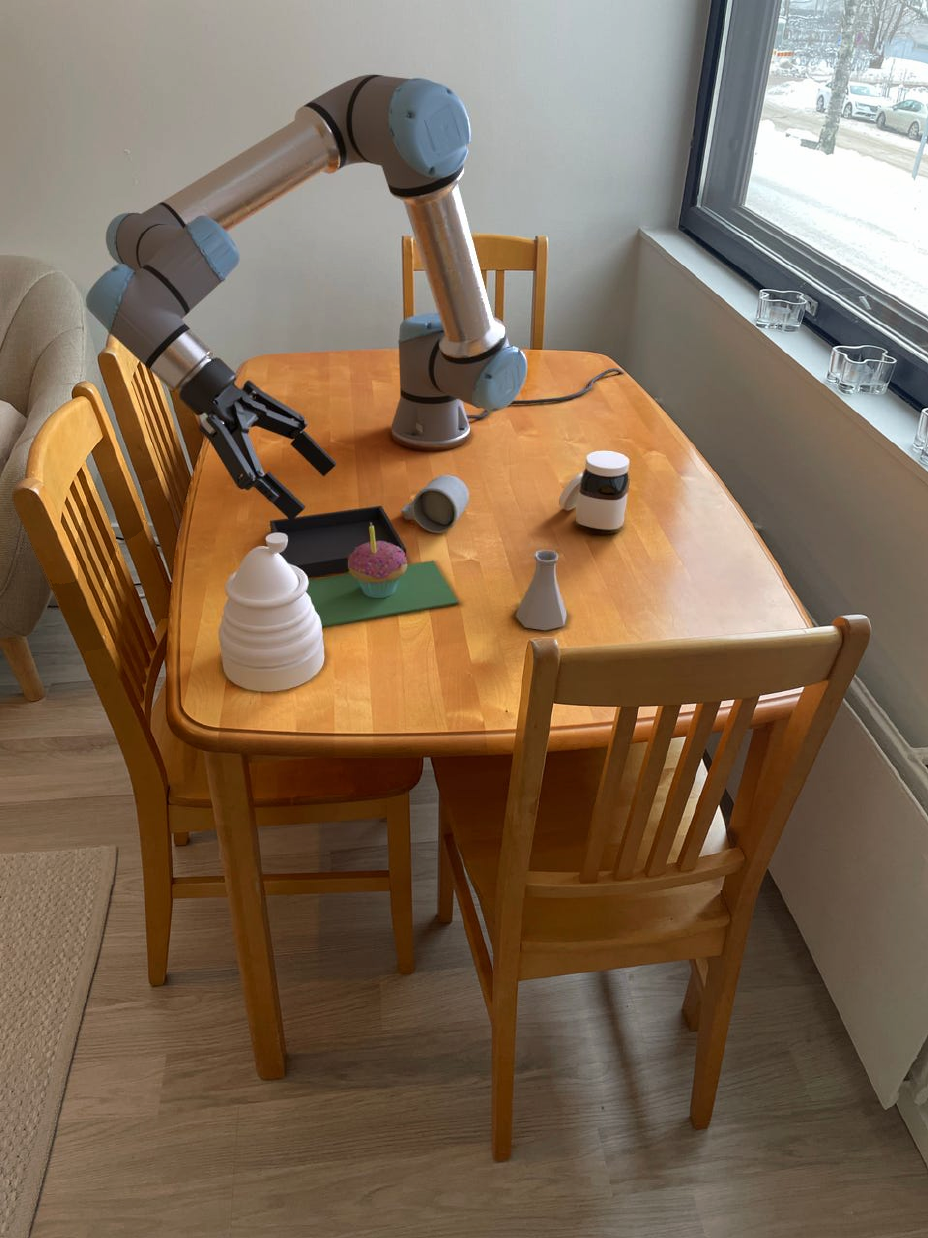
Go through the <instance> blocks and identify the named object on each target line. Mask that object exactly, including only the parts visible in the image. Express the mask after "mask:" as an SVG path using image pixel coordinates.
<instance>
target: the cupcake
mask: <svg viewBox="0 0 928 1238" xmlns="http://www.w3.org/2000/svg"><path fill="white" fill-rule="evenodd" d="M370 525H371V526H370V527H369V530H370V540H371V541H369V542H368V543H367V542H366V543H365V544H363V545H361V546H358V547H355V549H354V550H353V552H352V553H351V554H350V555H349V557H348V569H349V571H350V572H349V574H351V575H352V576H353V577H354V578H355V579H357V580H358V582H359V584H360V586H361V589H362V591H363V593H364V594H365V595H367V596H369V597H372V598H385V597H388V596H390V595H392V594H393V593H394V592H395V589H396V586H397V583H398V580H399V578H400V576H402V575H403V574H404V573H405V571H406V568H407V566H408V565H409V564H408V558H407V554H406V555H405V553H404V552H403V550H402V549H401V548H399V547H398V546H395V545H393V544H391V543H389V542H385V541H380V540H378V541H375V532H374V526H372V523H371V522H370Z"/></svg>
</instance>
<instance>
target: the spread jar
mask: <svg viewBox="0 0 928 1238" xmlns="http://www.w3.org/2000/svg"><path fill="white" fill-rule="evenodd" d="M584 463H585V464H584V467H585V468H583V470H582V472H581V473H579V474H577V475H575V476H574V477H573V478H572V479H571V480H570V481H569V482H568V484H566V486H565V487H564V489H563V490H562V491H561V493H560V496H559V498H558V505H559V506H560V507H561V508H562V509H564V510H565V511H571V510H572V509H575V508H576V514H575V515H576V516H575V517H576V518H575V521H576V525H577V526H578V527H579V528H581V530H583V531H585V532H587V533H590V534H593V535H601V536H604V535H606V536H607V535H612V534H616V533H618V532H619V531H620V530H621V529H622V528H623V525H624V523H625V518H626V513H627V506H628V505H627V504H628V497H629V490H630V480H631V476H630V473H629V467H630V459H629V457H627V456H626V455H624V454H623V453H621V452H617V451H612V450H597V451H596V450H595V451H592V452H590V453H588V454H587V455H586V457H585V462H584Z"/></svg>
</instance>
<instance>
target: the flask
mask: <svg viewBox="0 0 928 1238" xmlns="http://www.w3.org/2000/svg"><path fill="white" fill-rule="evenodd" d="M533 558H534V560H535V570H534V572H533V577H532V579H531V581H530V583H529V585H528V587H527V590H526V592H525V594H524V595H523V598H522V599H521V601H520V603H519V606H518V608H517V611H516V614H515V618H516V619H517V620H518V621H519V622H520V623H521V624H522V626H523V627H524V628H527V629H535V630H540V631H549V630H553V629H557V628H561V627H564V626H565V624H566V620H567V616H568V614H567V610H566V608H565V607H566V606H565V604H564V601H563V598H562V595H561V592H560V588H559V584H558V581H557V574H556V564H557V561H558V558H559V554H558V553H557V552H555V550H551V549H541V550H536V551H535V554H534V557H533Z"/></svg>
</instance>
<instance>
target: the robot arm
mask: <svg viewBox="0 0 928 1238" xmlns="http://www.w3.org/2000/svg"><path fill="white" fill-rule="evenodd" d="M293 119H294V120H293V121H291V122H290V123H288V124H286V125H285V126H283V127H281V128H280V129H278V130H277V131H275V132H274V133H271V134H270V135H268V136H267V137H265V138H263V139H262V140H260V141H258V142H257V143H255V144H254V145H253V146H250V147H249V148H247V149H245V150H244V151H242V152H241V153H239V154H237V155H236V156H235V157H233V158H231V159H230V160H227V161H226V162H223V164H221V165H219V166H218V167H216V168H215V169H213V170H211V171H210V172H208V173H207V174H205V175H203V176H201V177H200V178H199V179H197V180H195V181H193V182H191V183H190V184H188V185H187V186H185V187H184V188H182V189H180V190H179V191H177V192H176V193H174V194H172V195H171V196H169V197H167V198H166V199H164V200H163V201H161V202H159V203H156V204H155V205H153V206H152V207H150V208H148V209H147V210H145V211H143V212H142V213H139V212H134V211H133V212H123V213H120V214H118V215H117V216H115V217H114V218H113V219H112V220H111V221H110V222H109V224H108V226H107V229H106V231H105V232H106V233H105V244H106V248H107V250H108V254H109V255H110V256H111V258H112V259H113V260H114V262H115V263H116V264H115V265H114V266H112V267H111V268H110V269H109V270H107V271H105V272H104V273H103V274H102V275H100V277H99V278H98V279H97V280H96V281H95V282H94V283H93V284H92V286H91V287H90V289H89V290H88V292H87V295H86V297H85V306H86V308H87V310H88V311H89V312H90V313H91V315H93V316H94V317H95V319H96V320H97V321H98V322H99V323H100V324H101V325H102V326H103V327H104V328H105V330H107V333H108V334H110V335H111V336H113V337H114V338H115V339H116V340H117V342H119V343H120V344H121V345H122V346H123V347H124V348H125V349H127V350H128V351H129V352H130V354H132V355H133V356H134V357H135V358H136V359H137V360H138V361H139V362H141V363H142V364H143V366H145V368H147V369H148V370H149V371H151V373H152V374H154V376H156V378H157V379H158V380H159V381H160V382H162V384H164V385H165V387H167V388H168V389H169V391H171V392H172V393H174V392H178V393H179V394H178V400H180V401H181V402H182V403H183V404H184V405H185V406H186V407H187V408H188V409H189V410H190V411H191V412H192V413H193V414H194V415H195V416H202V415H204V414H205V415H206V416H207V417H205V419H204V420H202V421H201V423H200V424H199V425H198V430H199V431H200V432H201V434H203V435H204V437H205V438H206V439H207V440H208V441H209V442H210V443H211V446H212V447H213V449H214V450H215V452H216V454H217V456H218V457H219V459H220V461H221V462H222V464H223V466H224V467H225V469H226V471H227V472H228V474H229V476H230V477H231V479H232V480H233V482H234V484H235V485H236V487H237V488H238V489H239V490H245V491H249V490H251V489H252V488H255V490H256V491H258V492H259V493H260V494H261V495H262V496H263V497H264V498H265V499H266V500H267V502H269V503H271V504H273V506H274V507H275V508H277V509H278V510H279V511H280V512H281V513H282V514H283V515H284V516H285V517H286V518H289V519H290V520H291V521H292V520H293V519H294V518H295V517H298V516H299V515H300V514H301V513H302V512H303V511H304V510H306V506H305V504H304V503H303V502H301V501H300V500H299V499H298V498H297V497H296V495H294V494H293V493H292V492H291V491H290V490H289V489H288V488H287V487H286V486H285V485H284V484H283V483H282V482H281V481H280V480H279V479H278V478H277V477H276V476H274V475H273V474H272V473H271V471H269V470H268V471H267V472H266V473H265V472H264V469H263V467H262V464H261V462H260V460H259V457H258V455H257V452H256V450H255V448H254V445H253V443H252V440H251V437H250V434H249V433H250V428H255V427H257V428H261V429H264V430H266V431H268V432H271V433H274V434H276V435H279V436H282V437H284V438H286V439H289V440H292V441H291V442H290V443H289V444H290V446H291V447H293V449H295V450H296V451H297V453H299V454H300V455H301V456H302V457H303V459H305V460H306V462H308V463H309V465H311V466H312V467H313V468H314V469H315V470H316V471H317V472H318V473H319V474H320V476H322V477H325V476H326V475H327V474H328V473H329V472H331V471H332V470H333V469H334V468H335V467H336V466H337V465H338V463H337V461H335V460H334V459H333V458H332V457H331V456H330V455H329V454H328V453H327V452H326V451H325V450H324V449H323V448H322V447H321V446H320V445H319V444H318V443H317V441H315V440H314V438H312V437H311V436H310V435H309V434H308V433H307V432H306V431H305V429H306V428H307V427H308V422H307V421H306V418H305V417H304V416H303V415H302V414H301V413H299V412H297V411H296V410H294V409H292V408H291V407H289V406H288V405H286V404H285V403H282V402H281V401H279V400H278V399H276V398H274V397H273V396H272V395H269V394H268V393H266V392H265V391H263V390H261V388H260V387H258V386H257V385H256V384H255V383H254V382H253V381H251V380H249V379H248V380H246V381H245V382H244V383H243V384H242V386H241V387H238V385H236V384H235V382H236V381H237V379H238V375H237V374H236V372H235V371H234V370H233V369H232V368H231V367H230V366H229V365H228V364H226V362H225V361H224V360H222V359H221V358H220V357H217V356H216V357H213V355H214V350H213V349H212V348H211V347H210V346H209V345H208V343H206V342H205V341H204V340H203V339H202V338H200V336H199V335H198V334H197V333H195V332H194V331H193V330H192V329H191V328H190V326H188V325H187V324H186V323H185V321H184V320H183V319H184V318H185V317H186V316H187V315H188V314H189V313H190V312H191V311H192V310H193V309H194V308H195V307H196V306H197V305H198V304H200V303H201V302H202V301H203V300H204V299H205V298H206V297H207V296H208V295H209V294H210V293H212V292H213V291H214V290H215V289H216V288H217V287H218V286H219V285H221V284H222V283H223V282H225V281H226V278H227V277H228V276H229V275H230V273H232V271H233V270H234V269H235V268H236V267H237V266H238V264H239V263H240V254H239V249H238V247H237V245H236V243H235V242H234V240H233V239H232V237H231V236H230V235H229V234H228V231H230V230H232V229H234V227H237V226H238V225H239V224H242V223H243V222H245V221H246V220H248V219H249V218H251V217H252V216H254V215H255V214H257V213H259V212H260V211H262V210H263V209H265V208H266V207H268V206H270V205H271V204H273V203H274V202H276V201H278V200H279V199H281V198H282V197H284V196H286V195H287V194H288V193H290V192H292V191H293V190H295V189H297V188H298V187H300V186H301V185H303V184H304V183H306V182H307V181H309V180H311V179H312V178H314V177H315V176H317V175H319V174H320V173H325V174H334V173H336V172H338V171H339V170H340V169H342V168H344V167H346V166H349V165H353V164H354V165H355V164H362V163H363V164H364V163H365V164H366V163H368V164H372V165H376V166H379V167H381V168H382V172H383V175H384V178H385V181H386V184H387V187H388V190H389V193H390V194H391V196H392V197H394V198H396V199H398V200H400V201H402V202H403V204H404V207H405V210H406V215H407V217H408V220H409V224H410V227H411V230H412V233H413V237H414V240H415V243H416V246H417V249H418V252H419V256H420V260H421V262H422V265H423V269H424V272H425V275H426V279H427V282H428V285H429V288H430V291H431V294H432V297H433V301H434V304H435V308H436V310H437V312H430V313H429V312H428V313H420V314H416V315H411V316H410V317H407V318H405V319H404V320H402V321H401V323H400V325H399V332H398V334H399V335H398V341H397V342H398V362H399V363H398V364H399V399H398V403H397V407H396V410H395V413H394V416H393V418H392V421H391V438H392V440H394V441H395V443H397V444H398V445H401V446H403V447H406V448H408V449H413V450H416V451H417V450H419V451H428V452H429V451H444V450H450V449H454V448H457V447H459V446H461V445H463V444H465V443H467V441H468V440H469V439H470V434H471V433H470V432H471V430H470V429H471V428H470V427H471V426H470V423H469V420H470V419H471V420H472V419H475V420H481V419H484V418H485V417H487V416H488V415H489V413H490V412H498V411H502V410H504V409H506V408H507V407H508V406H510V405H527V404H528V405H529V404H530V405H532V404H545V403H555V402H563V401H567V400H571V399H574V398H578V397H580V396H582V395H584V394H585V393H587V392H589V391H590V390H591V388H592V387H593V384H594V383H595V382H597V381H598V380H600V379H601V378H603V377H605V376H606V375H608V374H611V373H614V372H616V373H618V374H619V375H624V372H623V371H622V369H620V368H616V367H613V368H609V369H607V370H604V371H602V372H601V373H599V374H598V375H596V376H595V377H593V378H592V379H591V380H590V381H589V384H588V385H587V386H586V387H585V388H584V389H581V391H578V392H576V393H573V394H572V393H571V394H568V395H565V396H560V397H553V398H552V397H551V398H539V399H538V398H537V399H523V400H519V399H517V397H518V396H519V394H520V393H521V391H522V388H523V386H524V384H525V382H526V380H527V379H526V378H527V373H528V361H527V357H526V355H525V353H524V352H523V351H522V350H520V349H519V347H517V346H515V345H513V346H511V344H510V343H509V339H508V336H507V332H506V328H505V325H504V322H502V320H500V319H499V318H497V317H495V316H493V314H492V309H491V306H490V305H491V304H490V302H489V298H488V293H487V290H486V287H485V283H484V279H483V275H482V272H481V268H480V264H479V263H480V262H479V259H478V257H477V252H476V249H475V244H474V240H473V237H472V234H471V230H470V226H469V222H468V218H467V214H466V211H465V207H464V203H463V199H462V195H461V191H460V187H459V181H460V179H461V178H462V176H463V174H464V172H465V167H464V166H465V165H464V162H465V161H466V158H467V157H468V153H469V148H468V144H470V143H471V124H470V119H469V115H468V112H467V109H466V108H465V106H464V103H463V102H462V100H461V99H460V97H459V96H458V95H457V94H456V93H455V91H453V90H452V89H451V88H448V86H446V85H444V84H442V83H438V82H435V81H433V80H430V79H426V78H420V77H413V78H408V77H407V78H406V77H397V76H387V75H383V74H364V75H360V76H356V77H354V78H351V79H349V80H346V81H345V82H344V81H343V83H341V84H339V85H337V86H334V87H333V88H330V89H329V90H327V91H326V92H324V93H322V94H321V95H319V96H317V97H315V98H314V99H312V100H311V101H308V102H307V103H306V104H304V105H303V106H300V107H299V108H298V109H296V111H295V113H294V118H293ZM516 399H517V400H516ZM464 403H465V404H468V405H470V406H472V407H475V408H476V409H478V410H485V412H483V413H481V414H467V413H466V409H465V406H464Z"/></svg>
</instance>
